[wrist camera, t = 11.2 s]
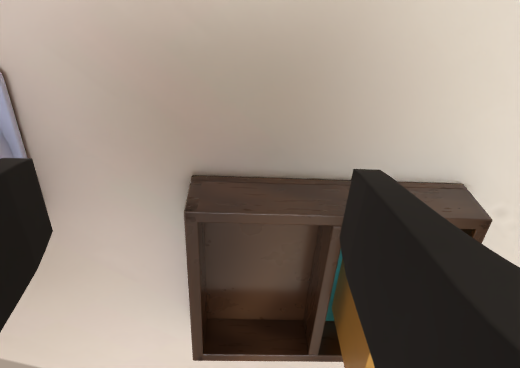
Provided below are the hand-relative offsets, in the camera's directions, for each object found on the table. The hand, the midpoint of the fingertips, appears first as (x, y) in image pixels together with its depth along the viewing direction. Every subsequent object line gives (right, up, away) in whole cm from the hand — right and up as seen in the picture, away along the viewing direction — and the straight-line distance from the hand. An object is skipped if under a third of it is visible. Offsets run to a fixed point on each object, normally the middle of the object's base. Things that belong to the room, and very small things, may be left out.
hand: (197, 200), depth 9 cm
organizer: (+5, -4, +14) cm, 15 cm away
